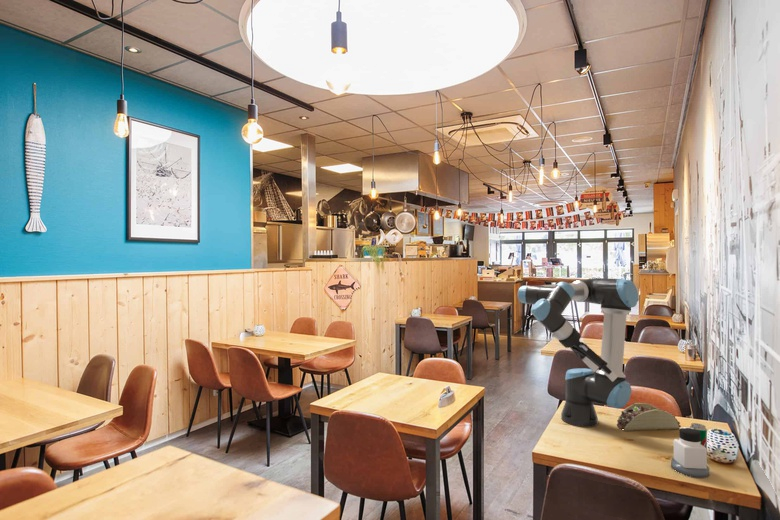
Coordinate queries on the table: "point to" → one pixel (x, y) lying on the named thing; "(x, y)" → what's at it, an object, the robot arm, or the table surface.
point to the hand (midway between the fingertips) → (605, 374)
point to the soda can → (703, 432)
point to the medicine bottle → (690, 449)
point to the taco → (646, 418)
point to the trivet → (690, 470)
